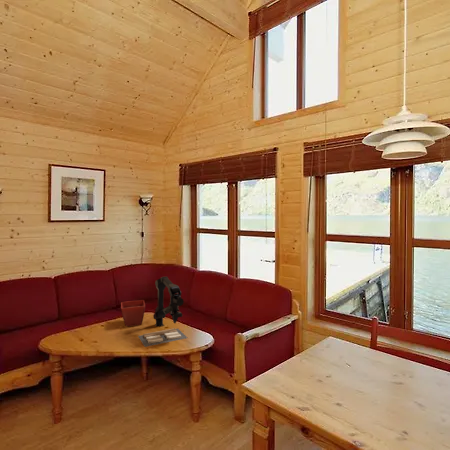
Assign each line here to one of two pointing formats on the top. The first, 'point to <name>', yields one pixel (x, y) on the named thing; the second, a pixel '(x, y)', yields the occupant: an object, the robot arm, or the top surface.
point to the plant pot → (133, 312)
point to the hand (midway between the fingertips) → (174, 323)
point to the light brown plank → (159, 333)
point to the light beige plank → (154, 339)
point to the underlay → (163, 339)
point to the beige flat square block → (172, 335)
